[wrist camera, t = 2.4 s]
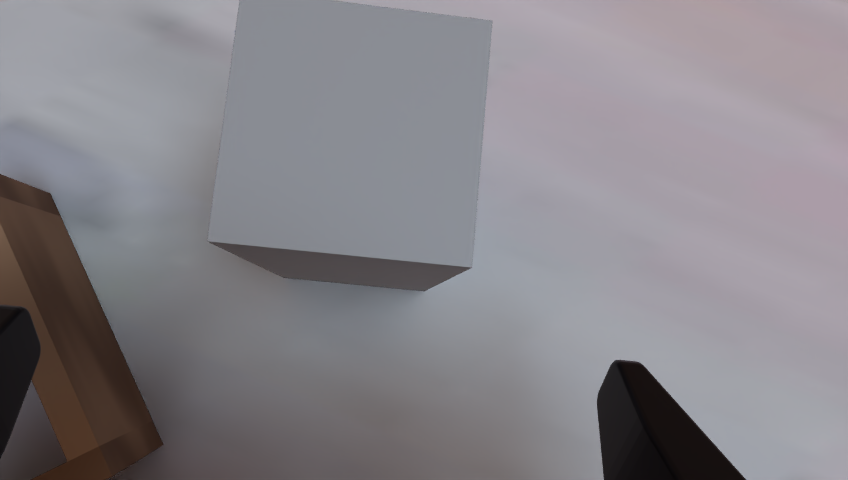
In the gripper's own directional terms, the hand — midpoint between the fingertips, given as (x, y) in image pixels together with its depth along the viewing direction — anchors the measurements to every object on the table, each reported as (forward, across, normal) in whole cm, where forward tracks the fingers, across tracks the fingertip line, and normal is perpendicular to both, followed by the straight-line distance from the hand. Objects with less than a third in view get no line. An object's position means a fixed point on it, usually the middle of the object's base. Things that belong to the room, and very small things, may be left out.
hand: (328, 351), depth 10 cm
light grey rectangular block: (+10, 0, +5) cm, 11 cm away
